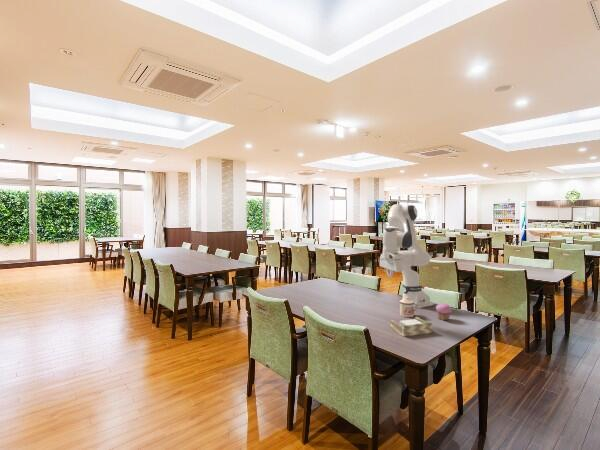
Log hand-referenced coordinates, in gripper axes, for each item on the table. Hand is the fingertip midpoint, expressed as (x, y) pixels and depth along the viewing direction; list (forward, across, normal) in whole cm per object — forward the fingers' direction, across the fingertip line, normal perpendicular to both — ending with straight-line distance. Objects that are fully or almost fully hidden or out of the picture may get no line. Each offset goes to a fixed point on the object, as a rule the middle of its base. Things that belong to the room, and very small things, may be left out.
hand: (390, 276), depth 197 cm
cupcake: (+27, +13, +29) cm, 42 cm away
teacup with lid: (+27, -1, +15) cm, 31 cm away
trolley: (+26, +22, -1) cm, 34 cm away
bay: (+26, +21, -1) cm, 33 cm away
